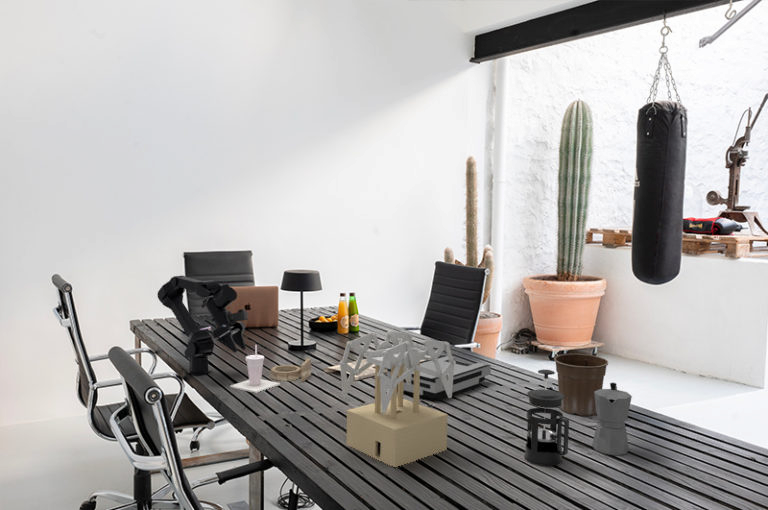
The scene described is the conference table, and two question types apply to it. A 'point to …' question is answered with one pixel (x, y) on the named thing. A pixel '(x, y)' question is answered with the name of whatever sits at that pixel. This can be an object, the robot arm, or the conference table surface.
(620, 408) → the coffeepot
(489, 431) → the conference table surface
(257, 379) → the smoothie
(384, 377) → the kinetic sculpture
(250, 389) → the coaster
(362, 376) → the newspaper
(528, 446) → the french press
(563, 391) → the plant pot
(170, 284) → the robot arm
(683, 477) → the conference table surface
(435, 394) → the game console
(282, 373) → the segmented octagon frame
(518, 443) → the conference table surface
